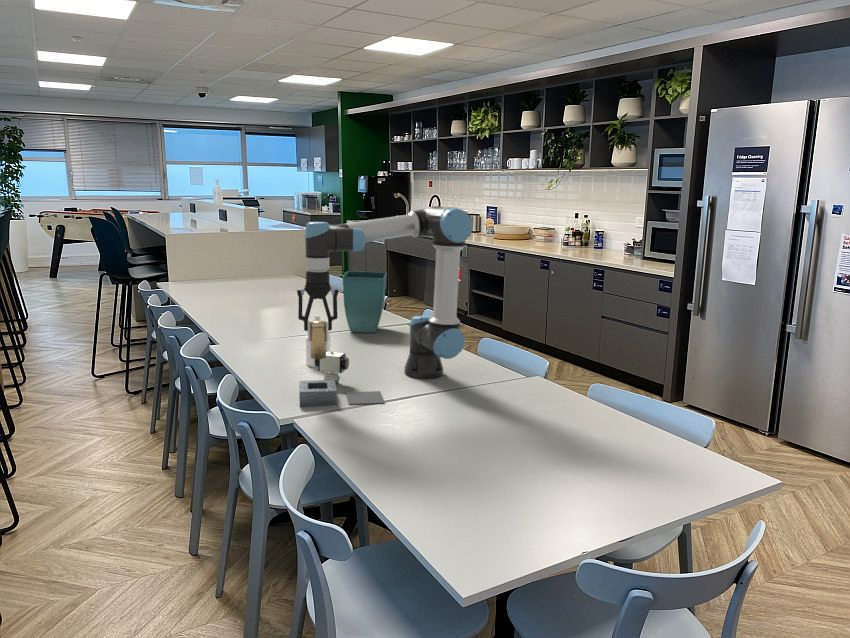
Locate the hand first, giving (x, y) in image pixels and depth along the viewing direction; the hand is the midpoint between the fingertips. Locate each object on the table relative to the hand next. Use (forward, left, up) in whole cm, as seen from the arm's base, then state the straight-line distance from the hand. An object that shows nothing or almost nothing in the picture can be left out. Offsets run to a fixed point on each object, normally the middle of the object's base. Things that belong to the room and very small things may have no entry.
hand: (318, 340), depth 209 cm
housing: (0, 0, -21) cm, 21 cm away
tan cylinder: (0, 0, -6) cm, 6 cm away
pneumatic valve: (-6, -19, -21) cm, 29 cm away
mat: (-16, 0, -21) cm, 26 cm away
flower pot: (-27, -103, -21) cm, 108 cm away
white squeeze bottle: (-2, -44, -21) cm, 49 cm away
